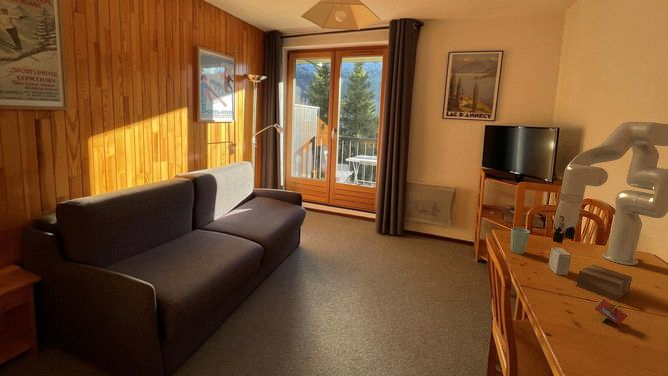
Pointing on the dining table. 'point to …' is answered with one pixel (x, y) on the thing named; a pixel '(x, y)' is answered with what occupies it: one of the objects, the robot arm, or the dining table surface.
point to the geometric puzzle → (610, 312)
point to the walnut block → (604, 282)
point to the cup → (519, 240)
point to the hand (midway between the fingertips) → (563, 240)
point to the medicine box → (559, 261)
